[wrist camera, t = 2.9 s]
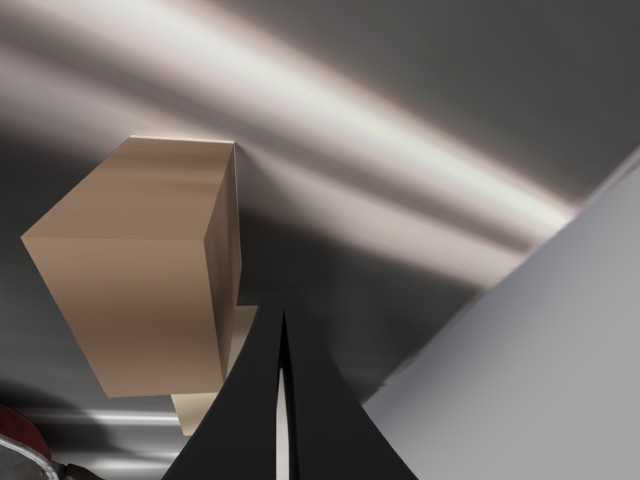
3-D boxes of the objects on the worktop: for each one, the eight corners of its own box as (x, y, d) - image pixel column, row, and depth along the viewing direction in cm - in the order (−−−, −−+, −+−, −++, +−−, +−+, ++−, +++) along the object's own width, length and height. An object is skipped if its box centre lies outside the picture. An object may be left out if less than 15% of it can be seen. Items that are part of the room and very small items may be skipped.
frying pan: (-324, 315, 16) (-464, 389, 13) (268, 420, 28) (267, 469, 25) (-227, 466, 24) (-297, 531, 22) (193, 495, 37) (186, 538, 34)
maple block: (191, 305, 19) (168, 386, 15) (277, 304, 20) (277, 382, 16) (201, 356, 22) (184, 435, 18) (275, 353, 23) (275, 429, 19)
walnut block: (131, 134, 13) (20, 237, 7) (234, 141, 14) (203, 240, 8) (163, 266, 17) (107, 397, 11) (241, 267, 18) (224, 392, 12)
